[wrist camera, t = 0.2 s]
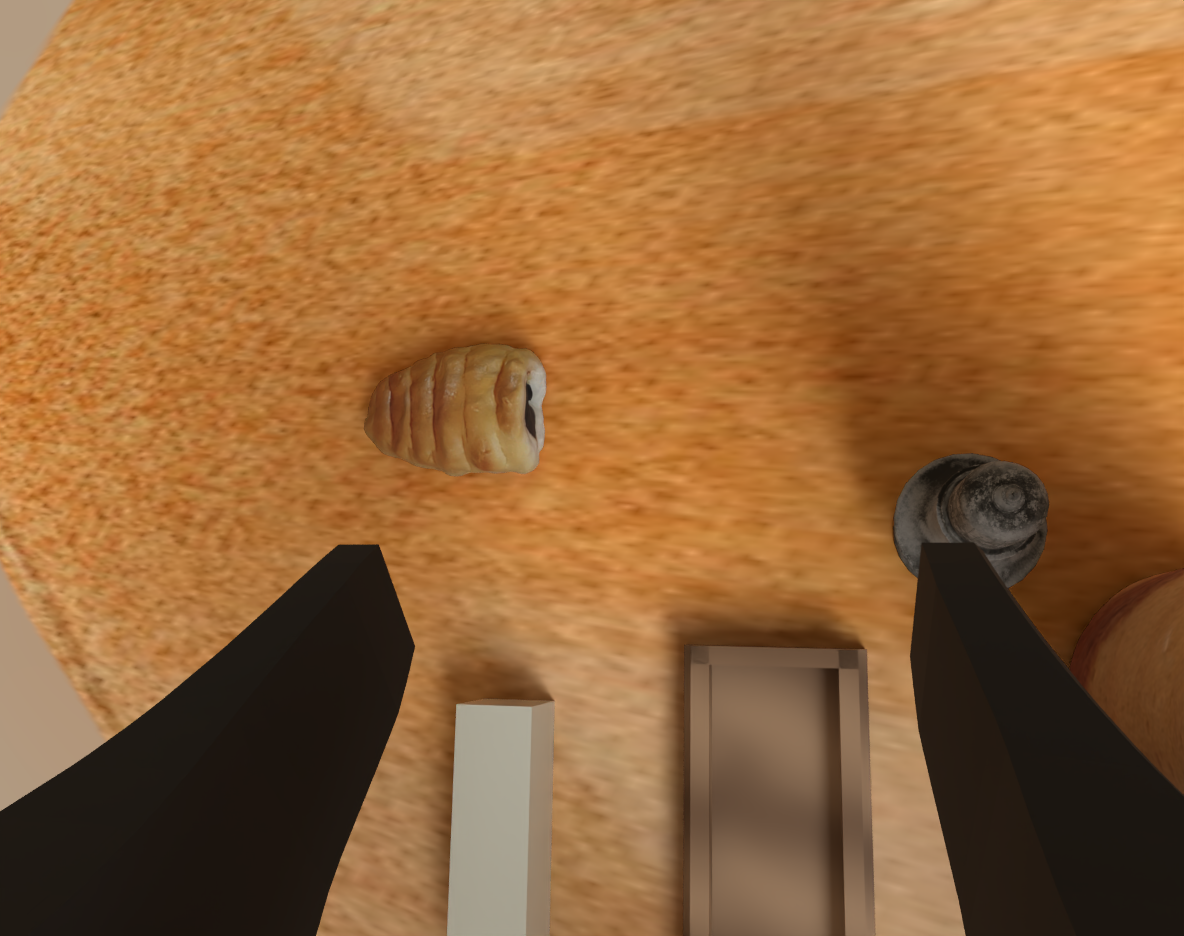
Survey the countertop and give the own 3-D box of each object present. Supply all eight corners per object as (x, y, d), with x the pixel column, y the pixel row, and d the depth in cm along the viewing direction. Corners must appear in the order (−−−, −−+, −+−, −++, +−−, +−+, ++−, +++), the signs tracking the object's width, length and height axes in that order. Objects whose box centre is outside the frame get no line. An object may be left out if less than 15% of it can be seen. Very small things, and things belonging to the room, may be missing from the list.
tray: (876, 1031, 38) (881, 1054, 36) (685, 1009, 40) (678, 1030, 38) (865, 649, 41) (868, 650, 39) (686, 644, 42) (680, 645, 40)
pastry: (377, 485, 48) (342, 472, 44) (382, 361, 49) (348, 339, 45) (550, 476, 46) (528, 462, 42) (550, 347, 47) (528, 323, 43)
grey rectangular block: (550, 971, 41) (523, 1006, 38) (477, 964, 42) (444, 997, 38) (556, 700, 44) (531, 706, 40) (486, 698, 44) (456, 704, 41)
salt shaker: (976, 626, 40) (1047, 623, 28) (860, 548, 41) (882, 516, 30) (1054, 516, 40) (1156, 469, 28) (934, 443, 42) (985, 370, 30)
